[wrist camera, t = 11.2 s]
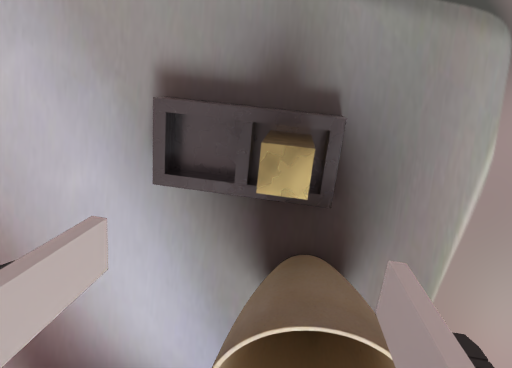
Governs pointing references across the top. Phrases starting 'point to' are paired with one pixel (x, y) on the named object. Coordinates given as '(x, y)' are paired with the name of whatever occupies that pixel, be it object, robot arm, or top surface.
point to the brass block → (286, 164)
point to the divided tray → (237, 147)
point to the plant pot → (305, 323)
